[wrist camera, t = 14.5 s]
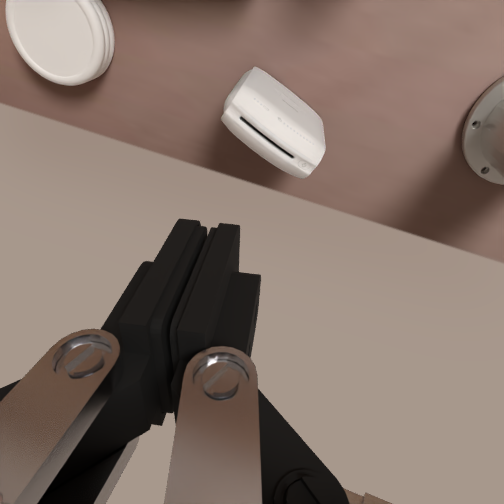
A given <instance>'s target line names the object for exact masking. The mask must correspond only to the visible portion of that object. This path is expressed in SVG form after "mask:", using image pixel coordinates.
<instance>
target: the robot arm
mask: <svg viewBox="0 0 504 504" xmlns="http://www.w3.org/2000/svg"><path fill="white" fill-rule="evenodd" d="M474 121H476V122H475V124H473V125H472V123H473V122H474ZM462 150H463V154H464V157H465V159H466V161H467V163H468V165H469V166H470V167H471V168H472V170H473V171H474V172H475V173H476V174H477V175H479V176H480V177H481V178H483V179H485V180H487V181H489V182H492V183H496V184H499V185H504V76H503V77H502V78H500V79H499V80H497V81H496V82H495V83H494V84H493V85H492V86H490V87H489V88H488V89H487V90H486V91H485V92H484V93H483V94H482V96H481V97H480V98H479V99H478V100H477V101H476V103H475V104H474V106H473V108H472V109H471V111H470V113H469V115H468V117H467V119H466V122H465V124H464V128H463V133H462ZM482 168H483V169H482ZM239 247H240V226H239V225H233V224H223V223H220V224H219V225H218V228H213V227H212V228H211V229H210V232H209V234H208V236H207V228H206V227H204V226H201V224H200V221H197V220H187V219H179V220H178V221H177V222H176V224H175V226H174V227H173V229H172V231H171V233H170V234H169V236H168V238H167V239H166V241H165V243H164V245H163V246H162V248H161V250H160V251H159V253H158V255H157V257H156V258H155V260H154V262H149V261H145V262H143V263H142V264H141V266H140V267H139V268H138V270H137V272H136V273H135V275H134V277H133V278H132V280H131V281H130V283H129V285H128V286H127V288H126V289H125V291H124V293H123V294H122V296H121V297H120V299H119V301H118V302H117V304H116V305H115V307H114V309H113V310H112V312H111V313H110V315H109V317H108V318H107V320H106V321H105V323H104V325H103V326H102V328H101V329H100V330H99V329H86V330H81V331H78V332H74V333H71V334H70V335H68V336H66V337H64V338H62V339H61V340H59V341H58V342H57V343H56V344H55V345H53V346H52V347H51V348H50V349H49V351H48V352H47V353H46V354H45V355H44V356H43V357H42V358H41V359H40V360H39V361H38V362H37V363H36V364H35V365H34V367H33V368H32V369H31V370H30V371H29V372H28V373H27V374H26V375H25V377H23V378H22V379H21V380H18V381H16V382H14V383H12V384H9V385H7V386H5V387H3V388H0V504H106V502H107V500H108V498H109V496H110V495H111V493H112V491H113V489H114V487H115V485H116V484H117V482H118V480H119V478H120V476H121V474H122V473H123V471H124V469H125V467H126V465H127V463H128V461H129V460H130V458H131V456H132V454H133V452H134V450H135V449H136V446H137V443H138V441H139V436H140V435H142V434H143V433H145V432H146V431H148V430H150V427H151V424H154V425H160V426H162V424H163V421H164V418H165V415H166V413H173V412H174V415H175V423H176V429H175V436H174V442H173V449H172V455H171V462H170V469H169V475H168V481H167V488H166V494H165V501H164V504H392V503H389V502H387V501H385V500H382V499H380V498H377V497H375V496H372V495H370V494H368V493H365V494H364V496H360V495H358V494H356V493H353V492H351V491H349V490H346V489H344V488H343V487H342V486H341V485H340V483H339V481H338V480H337V479H336V477H335V476H334V475H333V474H332V473H331V472H330V471H329V469H328V468H327V467H326V466H325V465H324V464H323V463H322V461H321V460H320V459H319V458H318V457H317V456H316V455H315V453H314V452H313V451H312V450H311V449H310V448H309V447H308V446H307V444H306V443H305V442H304V441H303V440H302V438H301V437H300V436H299V435H298V434H297V433H296V432H295V431H294V429H293V428H292V427H291V426H290V425H289V424H288V422H287V421H286V420H285V419H284V418H283V417H282V415H281V414H280V413H279V412H278V411H277V410H276V409H275V408H274V406H273V405H272V404H271V403H270V402H269V401H268V399H267V398H266V397H265V396H264V395H263V394H262V393H261V391H260V390H259V389H258V378H257V371H256V367H255V365H254V363H253V362H252V360H251V359H250V357H251V351H252V346H253V340H254V333H255V328H256V321H257V314H258V306H259V295H260V282H261V275H258V274H249V273H241V272H239Z"/></svg>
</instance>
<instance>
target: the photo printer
mask: <svg viewBox="0 0 504 504" xmlns="http://www.w3.org/2000/svg"><path fill="white" fill-rule="evenodd" d="M221 120H222V121H223V123H224V124H225V125H226V126H227V128H228V129H229V130H230V131H231V132H232V133H233V134H234V135H235V136H236V137H237V138H238V139H240V140H241V141H242V142H243V143H244V144H246V145H247V146H248V147H249V148H251V149H252V150H253V151H254V152H256V153H257V154H258V155H260V156H261V157H263V158H264V159H265V160H267V161H268V162H270V163H271V164H273V165H274V166H276V167H277V168H279V169H281V170H282V171H284V172H287V173H288V174H291V175H293V176H295V177H298V178H301V179H304V178H306V177H308V176H309V175H310V173H311V172H312V171H313V170H314V169H315V168H316V167H317V166H318V164H319V163H320V161H321V159H322V157H323V155H324V153H325V149H326V147H325V138H324V130H323V123H322V120H321V118H320V117H319V116H318V114H317V113H316V112H315V111H314V110H313V109H311V108H310V107H309V106H308V105H307V104H306V103H304V102H303V101H302V100H301V99H300V98H299V97H297V96H296V95H295V94H294V93H292V92H291V91H290V90H289V89H287V88H286V87H285V86H283V85H282V84H281V83H280V82H278V81H277V80H276V79H274V78H273V77H272V76H270V75H269V74H267V73H266V72H264V71H263V70H261V69H259V68H257V67H253V69H251V70H249V71H247V72H246V73H245V74H244V75H243V76H242V77H241V78H240V80H239V81H238V83H237V84H236V85H235V87H234V88H233V90H232V91H231V93H230V94H229V95H228V97H227V99H226V101H225V104H224V114H223V115H222V117H221Z"/></svg>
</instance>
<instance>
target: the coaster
mask: <svg viewBox="0 0 504 504" xmlns="http://www.w3.org/2000/svg"><path fill="white" fill-rule="evenodd" d="M6 22H7V26H8V30H9V34H10V36H11V39H12V41H13V43H14V45H15V47H16V49H17V51H18V52H19V54H20V55H21V57H22V58H23V59H24V61H25V62H26V63H27V64H28V65H29V66H30V67H31V68H32V69H33V70H34V71H35V72H37V73H38V74H39V75H41V76H42V77H44V78H45V79H47V80H49V81H52V82H54V83H57V84H61V85H67V86H74V85H80V84H83V83H86V82H88V81H91V80H93V79H95V78H97V77H99V76H100V75H102V74H103V73H104V72H105V71H106V69H107V68H108V66H109V65H110V62H111V60H112V57H113V54H114V45H115V39H114V31H113V26H112V22H111V19H110V17H109V14H108V12H107V10H106V8H105V6H104V5H103V3H102V1H101V0H6Z"/></svg>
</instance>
